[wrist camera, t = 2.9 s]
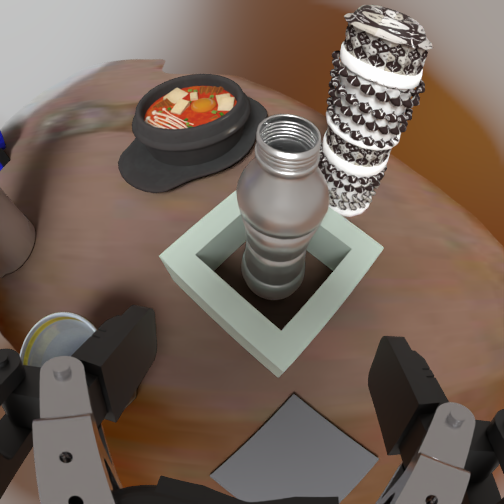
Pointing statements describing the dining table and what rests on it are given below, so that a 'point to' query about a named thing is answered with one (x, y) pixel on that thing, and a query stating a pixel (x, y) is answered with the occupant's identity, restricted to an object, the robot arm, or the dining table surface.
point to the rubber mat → (295, 459)
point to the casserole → (189, 131)
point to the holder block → (242, 312)
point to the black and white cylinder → (369, 102)
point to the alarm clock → (3, 153)
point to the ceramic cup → (56, 339)
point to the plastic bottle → (281, 204)
